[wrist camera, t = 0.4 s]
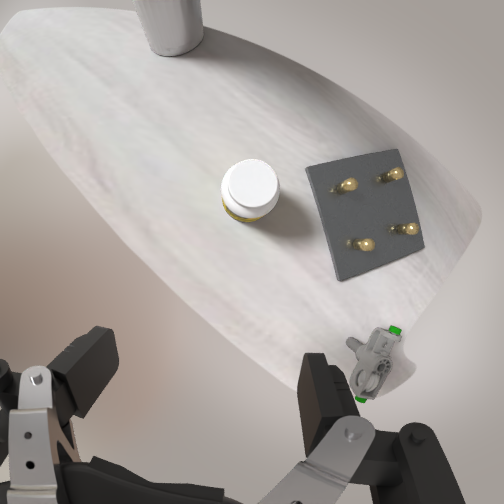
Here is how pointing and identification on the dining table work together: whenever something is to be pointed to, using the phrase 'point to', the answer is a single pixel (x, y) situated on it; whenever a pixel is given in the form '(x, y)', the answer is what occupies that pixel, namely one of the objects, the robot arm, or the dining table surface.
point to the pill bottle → (250, 190)
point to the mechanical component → (372, 362)
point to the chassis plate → (366, 211)
